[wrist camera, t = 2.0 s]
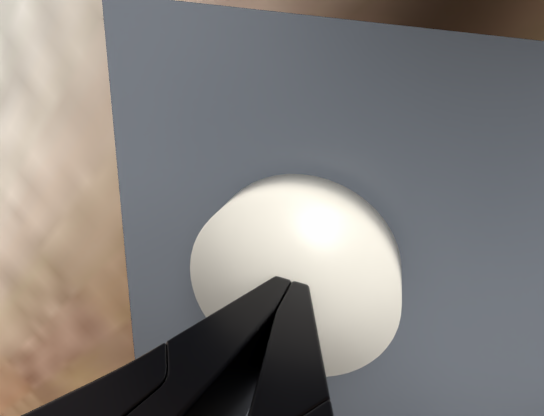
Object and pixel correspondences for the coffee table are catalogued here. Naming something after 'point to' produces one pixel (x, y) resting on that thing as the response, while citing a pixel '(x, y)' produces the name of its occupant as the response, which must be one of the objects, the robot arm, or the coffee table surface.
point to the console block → (346, 179)
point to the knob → (307, 261)
